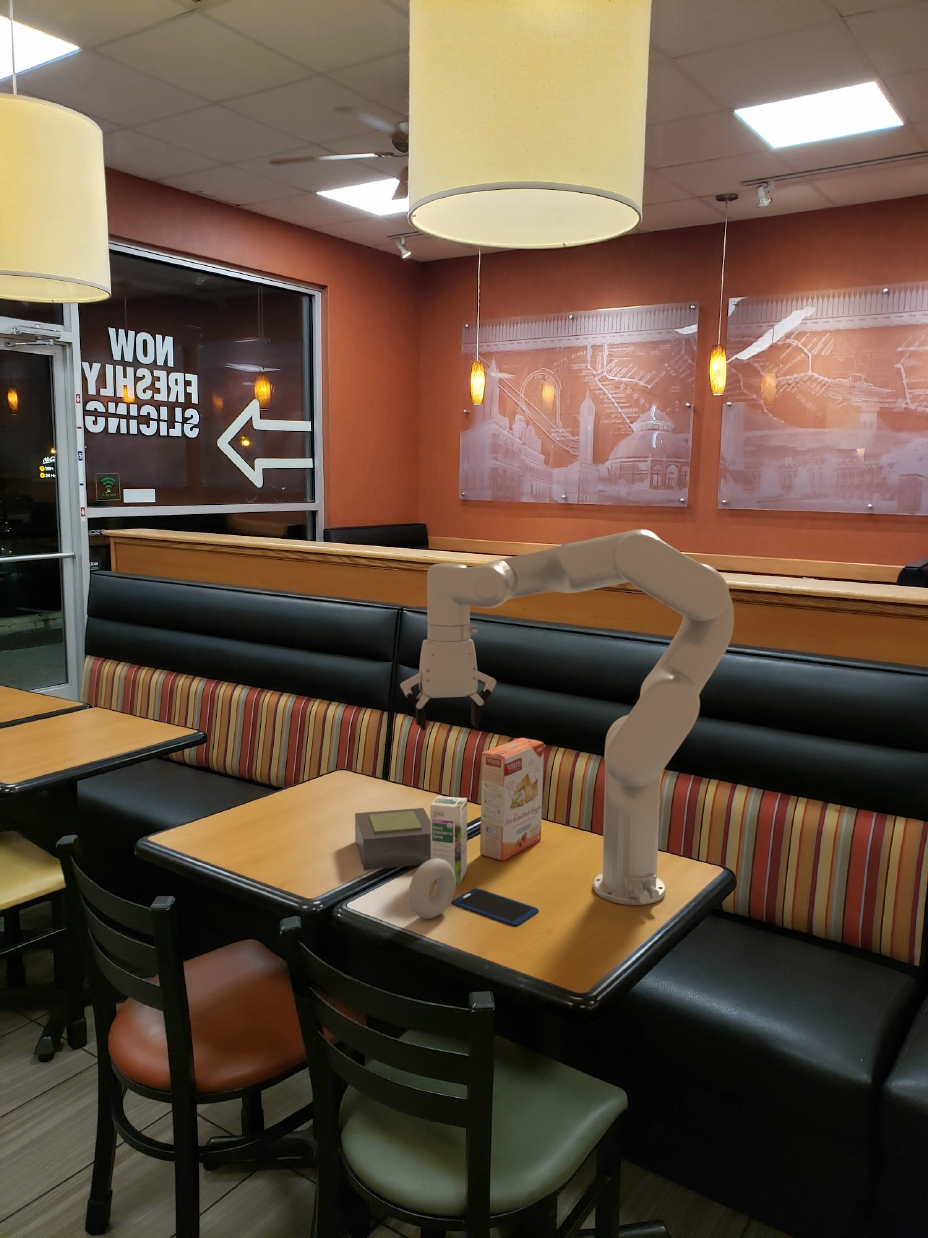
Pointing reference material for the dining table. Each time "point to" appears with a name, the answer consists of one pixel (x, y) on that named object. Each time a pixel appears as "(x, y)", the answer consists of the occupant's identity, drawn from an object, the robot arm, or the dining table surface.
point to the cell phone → (496, 907)
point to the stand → (393, 838)
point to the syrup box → (450, 832)
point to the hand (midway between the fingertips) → (448, 727)
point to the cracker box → (511, 798)
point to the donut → (422, 885)
